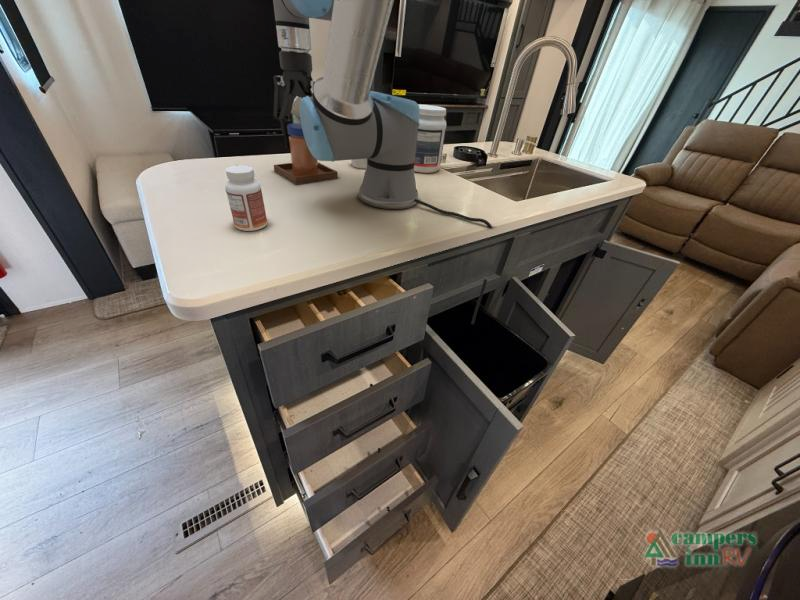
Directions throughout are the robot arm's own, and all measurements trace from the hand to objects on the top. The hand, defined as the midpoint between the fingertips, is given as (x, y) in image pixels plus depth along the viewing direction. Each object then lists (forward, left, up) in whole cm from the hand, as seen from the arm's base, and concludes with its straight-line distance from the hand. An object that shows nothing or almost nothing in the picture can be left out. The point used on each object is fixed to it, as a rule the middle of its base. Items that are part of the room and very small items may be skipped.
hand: (303, 151), depth 90 cm
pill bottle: (-25, +26, -7) cm, 37 cm away
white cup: (+1, -21, -7) cm, 22 cm away
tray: (0, 0, -6) cm, 6 cm away
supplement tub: (-10, -38, -7) cm, 40 cm away
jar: (0, 0, -6) cm, 6 cm away
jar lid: (0, 0, +6) cm, 6 cm away
